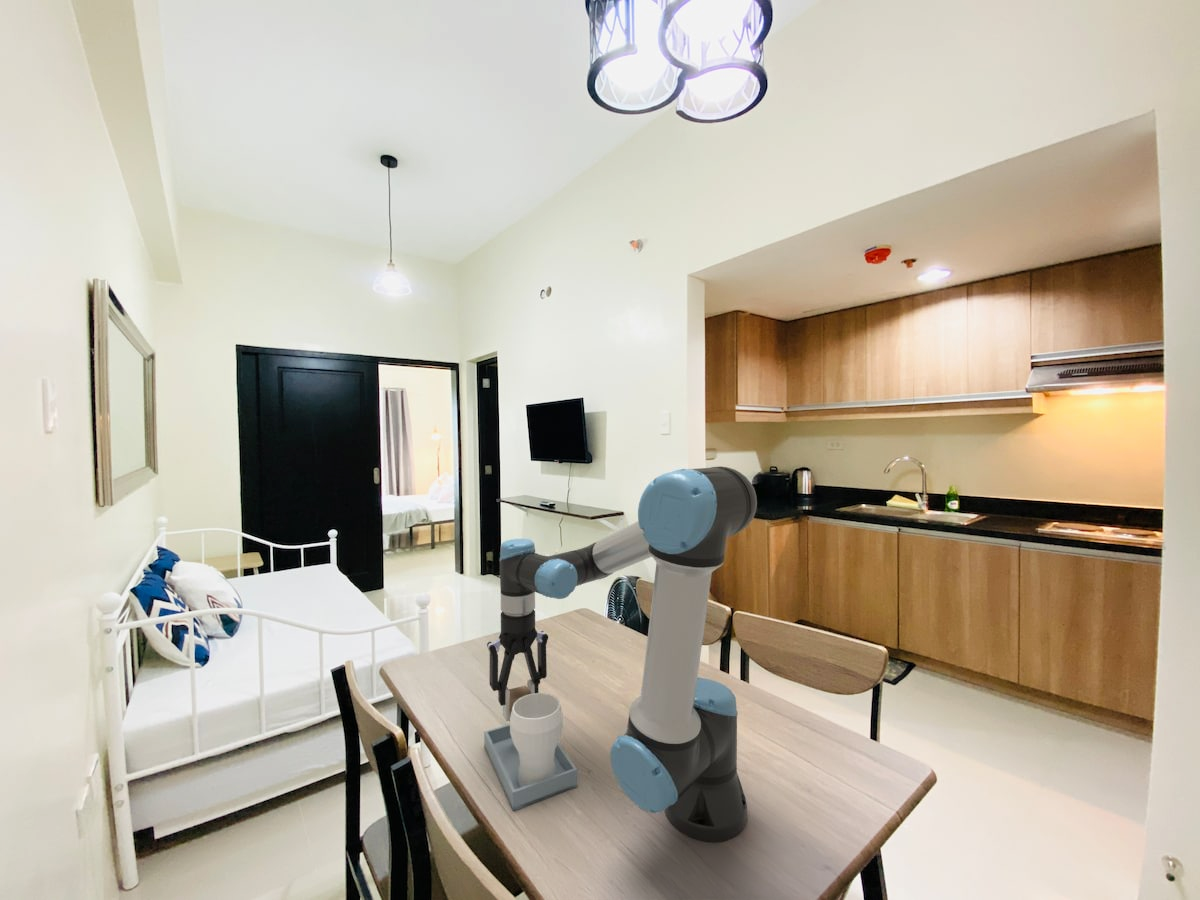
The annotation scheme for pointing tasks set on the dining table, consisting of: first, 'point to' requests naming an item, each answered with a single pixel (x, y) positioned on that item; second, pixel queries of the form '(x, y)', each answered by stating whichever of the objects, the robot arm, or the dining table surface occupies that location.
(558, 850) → the dining table surface
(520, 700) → the cup
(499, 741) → the tray
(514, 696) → the walnut cube
